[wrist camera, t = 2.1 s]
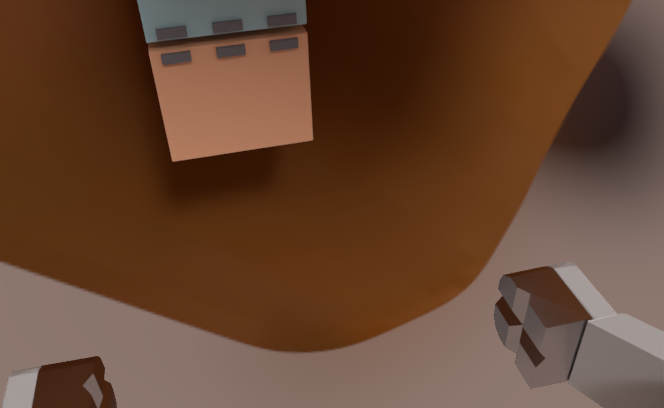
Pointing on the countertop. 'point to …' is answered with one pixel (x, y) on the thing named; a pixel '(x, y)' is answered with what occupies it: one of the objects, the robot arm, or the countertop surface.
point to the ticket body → (216, 17)
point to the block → (233, 91)
